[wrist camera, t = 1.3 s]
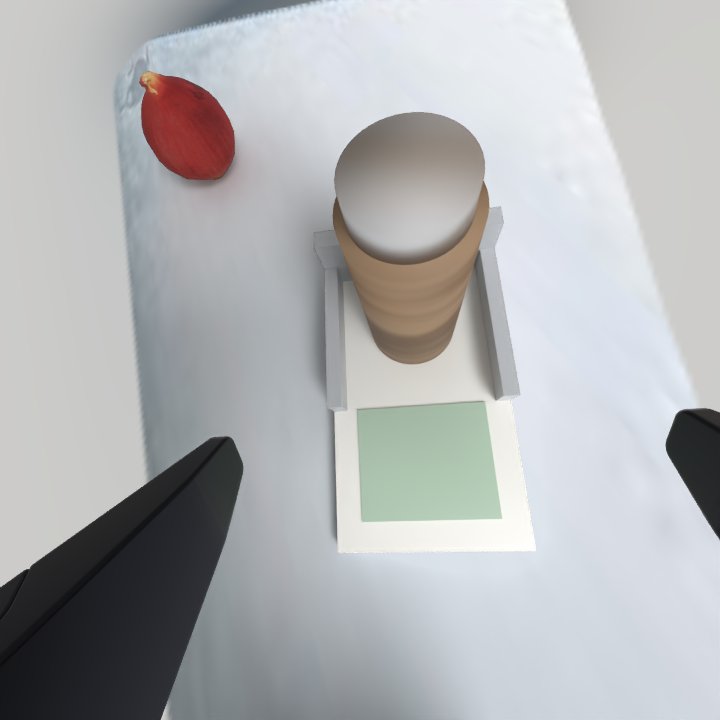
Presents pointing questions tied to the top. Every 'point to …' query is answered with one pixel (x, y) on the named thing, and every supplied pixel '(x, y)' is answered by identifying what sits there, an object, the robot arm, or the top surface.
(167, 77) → the onion
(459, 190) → the pepper mill
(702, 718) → the top surface
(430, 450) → the lane rack
